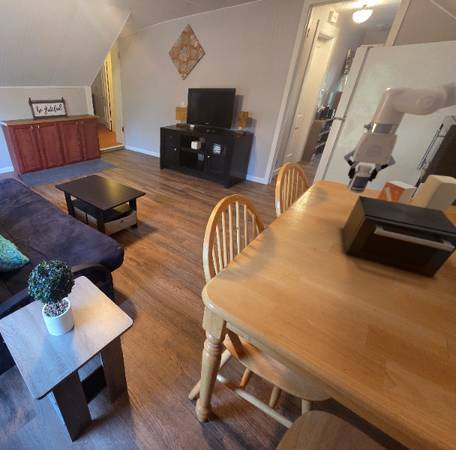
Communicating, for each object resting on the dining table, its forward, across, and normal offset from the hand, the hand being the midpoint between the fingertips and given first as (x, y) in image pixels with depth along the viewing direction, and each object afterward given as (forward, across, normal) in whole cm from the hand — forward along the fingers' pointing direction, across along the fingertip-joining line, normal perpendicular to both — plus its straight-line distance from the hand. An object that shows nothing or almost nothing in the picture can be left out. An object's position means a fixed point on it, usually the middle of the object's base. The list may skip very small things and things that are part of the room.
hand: (360, 178), depth 92 cm
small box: (+19, +18, +21) cm, 34 cm away
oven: (+19, +11, -16) cm, 27 cm away
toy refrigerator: (+19, +25, +8) cm, 33 cm away
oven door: (+19, +11, -27) cm, 35 cm away
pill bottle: (+5, 0, 0) cm, 5 cm away
